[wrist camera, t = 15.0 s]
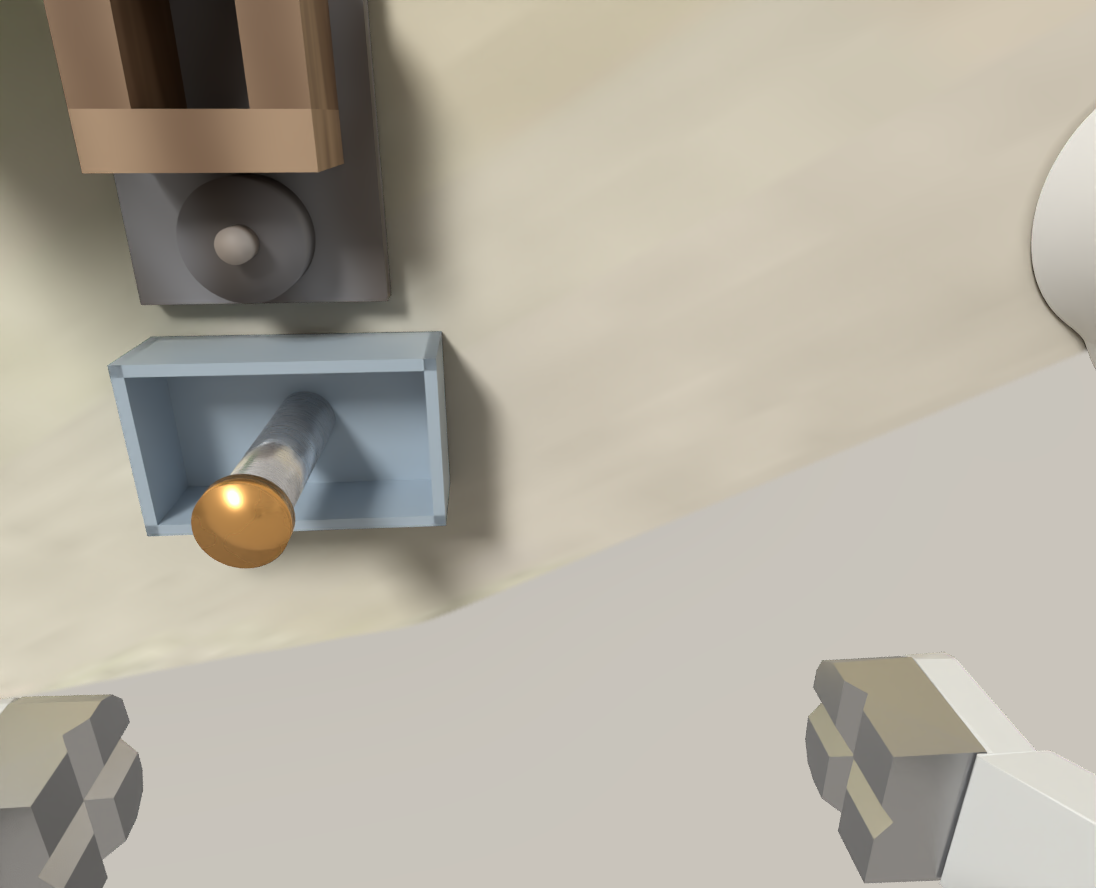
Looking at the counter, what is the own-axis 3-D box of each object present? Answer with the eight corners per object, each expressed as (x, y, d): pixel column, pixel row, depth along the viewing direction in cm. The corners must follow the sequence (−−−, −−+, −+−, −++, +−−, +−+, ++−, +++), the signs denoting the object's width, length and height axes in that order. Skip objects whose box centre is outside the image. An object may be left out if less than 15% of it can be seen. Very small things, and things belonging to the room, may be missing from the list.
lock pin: (338, 383, 41) (282, 483, 30) (346, 448, 42) (295, 566, 31) (266, 384, 41) (182, 486, 30) (276, 450, 42) (200, 569, 31)
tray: (441, 331, 41) (435, 358, 36) (450, 483, 44) (445, 525, 40) (151, 336, 40) (107, 365, 35) (183, 491, 43) (147, 536, 39)
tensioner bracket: (362, -70, 34) (330, -117, 27) (391, 294, 40) (371, 331, 33) (77, -74, 33) (-32, -124, 26) (153, 298, 39) (82, 337, 32)
